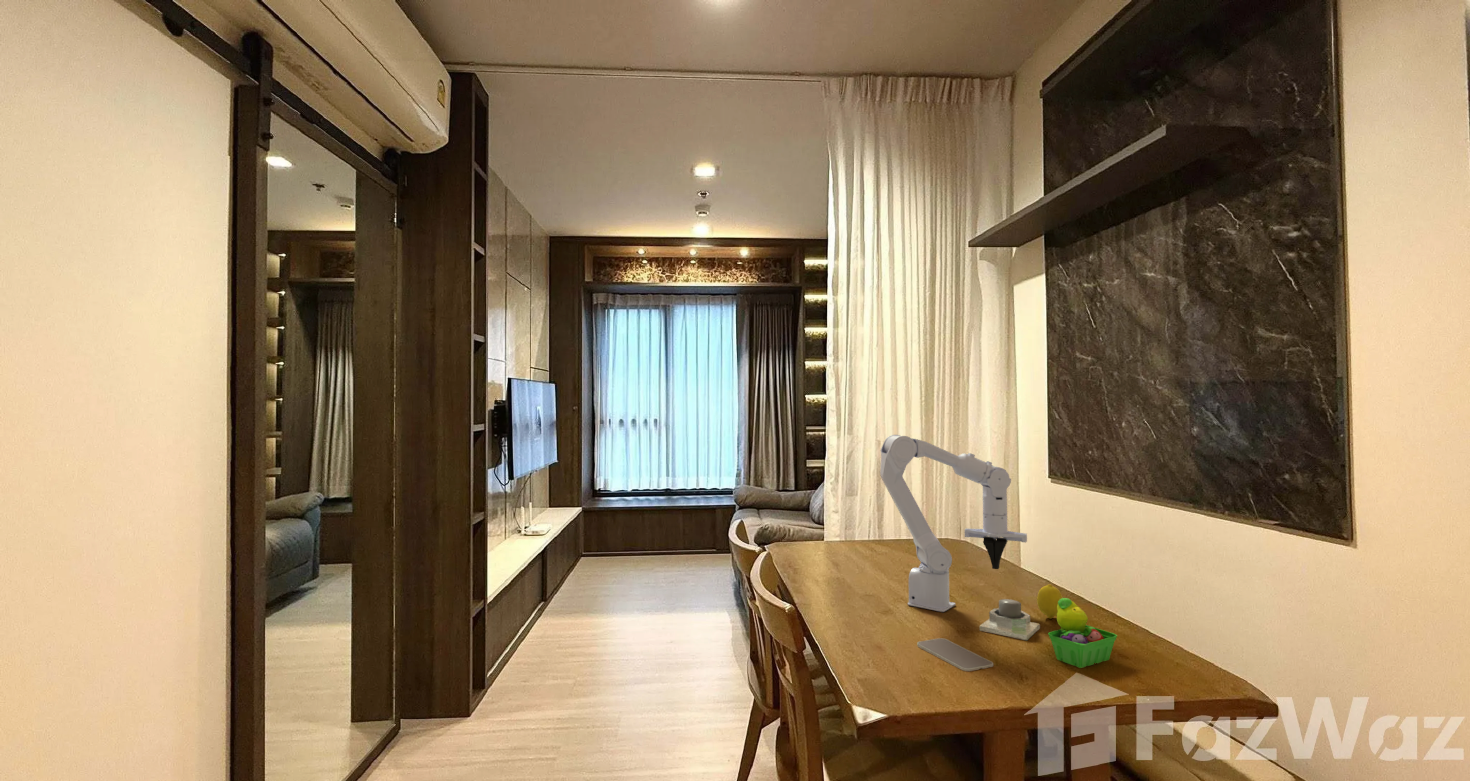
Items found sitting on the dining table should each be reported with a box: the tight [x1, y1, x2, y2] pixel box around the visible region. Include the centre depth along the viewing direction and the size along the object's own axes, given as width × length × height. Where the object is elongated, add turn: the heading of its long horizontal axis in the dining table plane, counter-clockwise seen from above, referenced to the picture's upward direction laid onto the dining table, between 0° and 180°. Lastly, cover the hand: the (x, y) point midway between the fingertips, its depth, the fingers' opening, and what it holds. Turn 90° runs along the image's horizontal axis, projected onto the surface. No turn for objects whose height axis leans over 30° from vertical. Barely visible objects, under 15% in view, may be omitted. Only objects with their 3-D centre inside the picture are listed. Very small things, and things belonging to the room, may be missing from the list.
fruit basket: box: [1047, 597, 1118, 669], centre depth 127 cm, size 11×9×11 cm
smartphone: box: [916, 637, 994, 672], centre depth 129 cm, size 7×1×15 cm
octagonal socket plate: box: [979, 607, 1041, 641], centre depth 144 cm, size 10×10×4 cm
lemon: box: [1036, 583, 1063, 619], centre depth 152 cm, size 6×6×8 cm
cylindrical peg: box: [998, 598, 1022, 618], centre depth 144 cm, size 5×5×5 cm
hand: (995, 568), depth 162 cm, fingers closed
